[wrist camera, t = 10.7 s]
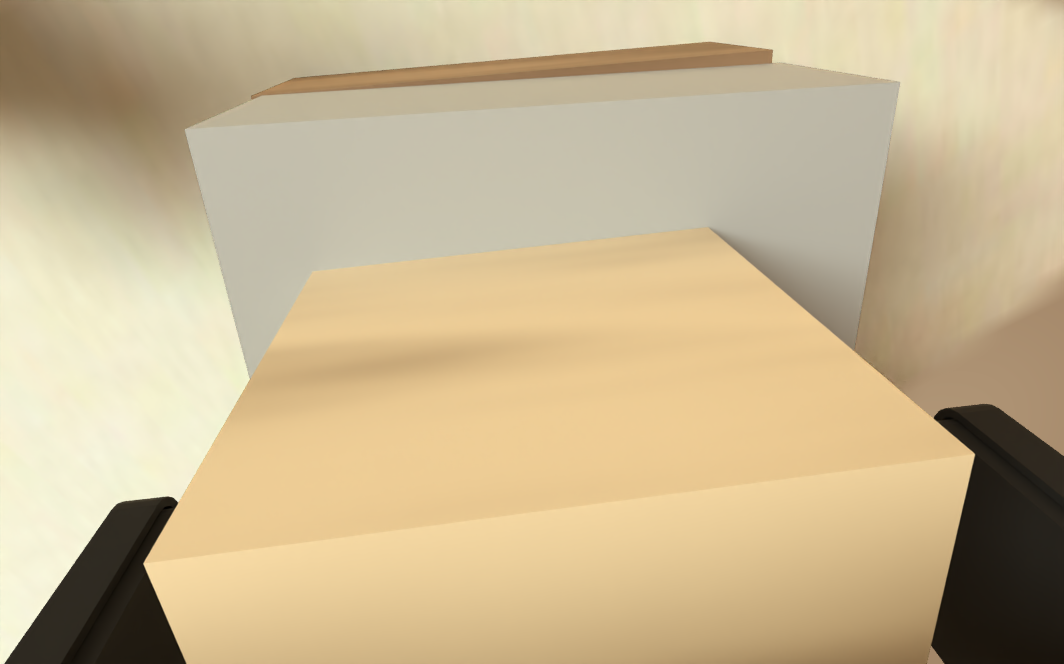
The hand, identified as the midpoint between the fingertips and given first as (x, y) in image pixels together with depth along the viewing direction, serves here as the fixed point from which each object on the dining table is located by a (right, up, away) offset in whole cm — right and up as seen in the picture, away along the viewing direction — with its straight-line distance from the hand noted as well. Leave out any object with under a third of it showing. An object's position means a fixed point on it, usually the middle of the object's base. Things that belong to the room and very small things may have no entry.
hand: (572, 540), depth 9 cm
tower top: (0, +3, +6) cm, 7 cm away
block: (-1, +1, +3) cm, 3 cm away
